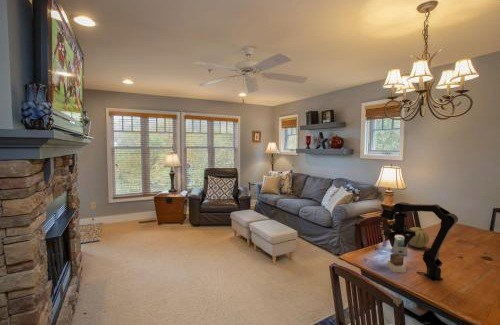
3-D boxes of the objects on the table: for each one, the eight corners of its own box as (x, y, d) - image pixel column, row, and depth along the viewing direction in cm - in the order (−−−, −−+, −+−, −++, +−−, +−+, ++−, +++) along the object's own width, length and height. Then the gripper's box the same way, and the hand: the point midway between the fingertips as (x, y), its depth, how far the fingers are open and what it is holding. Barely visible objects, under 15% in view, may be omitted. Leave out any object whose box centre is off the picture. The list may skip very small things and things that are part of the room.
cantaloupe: (408, 241, 199) (408, 222, 198) (430, 246, 189) (431, 227, 188) (402, 246, 189) (403, 227, 188) (426, 252, 179) (427, 232, 177)
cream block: (405, 273, 152) (405, 266, 151) (393, 272, 152) (393, 266, 152) (399, 267, 158) (399, 261, 158) (387, 267, 159) (388, 260, 159)
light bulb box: (407, 255, 174) (408, 240, 173) (396, 254, 175) (397, 239, 175) (401, 249, 185) (402, 234, 184) (391, 248, 186) (392, 234, 185)
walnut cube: (403, 265, 153) (403, 257, 152) (395, 265, 152) (395, 257, 152) (397, 261, 158) (397, 253, 157) (390, 261, 157) (390, 254, 157)
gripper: (403, 217, 168) (402, 240, 170) (378, 219, 165) (377, 242, 167) (416, 223, 157) (415, 247, 159) (389, 224, 154) (388, 249, 156)
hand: (398, 246), depth 160 cm, fingers open, 9 cm apart
